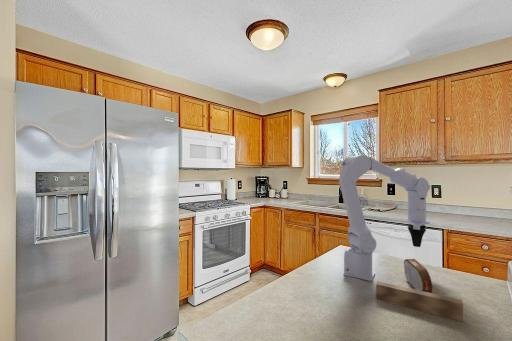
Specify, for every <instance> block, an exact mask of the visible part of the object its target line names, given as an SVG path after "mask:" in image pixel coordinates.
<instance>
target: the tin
mask: <svg viewBox="0 0 512 341" xmlns="http://www.w3.org/2000/svg"><path fill="white" fill-rule="evenodd" d="M403 267H404V269H403V270H404V276H405V279H406V281H407V282H408V284H409V286H411V287H412V289H415V290H419V291H424V292H428V293H433V282H432V278H431V275H430V273H429V271H428V269H427V267H425V266H424V265H423V264H421V262H419V261H418V260H416V259H415V258H406V259H404V261H403Z"/></svg>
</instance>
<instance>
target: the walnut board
mask: <svg viewBox="0 0 512 341" xmlns="http://www.w3.org/2000/svg"><path fill="white" fill-rule="evenodd" d="M375 290H376V291H375V300H378V301H382V302H386V303H390V304H393V305H397V306H399V307H404V308H408V309H411V310H416V311H420V312H424V313H428V314H430V315H431V314H432V315H435V316H438V317H443V318H447V319H450V320H454V321H458V322H462V323H464V302H463V300H462V299H459V298H454V297H451V296H446V295H442V294H441V295H440V294H436V293H433V292H432V293H428V292H424V291H419V290H415V289H414V288H411V287H407V286H401V285H396V284H391V283H387V282H383V281H380V280H377V281H376V284H375Z"/></svg>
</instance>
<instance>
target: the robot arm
mask: <svg viewBox="0 0 512 341" xmlns="http://www.w3.org/2000/svg"><path fill="white" fill-rule="evenodd" d="M340 165H341V170H340V174H339V178H338V183H339V186H340V191H341V195H342V197H343V202H344V207H345V210H346V214H347V217H348V218H347V219H348V222H349V227H348V228H347V231H348V236H347V242H348V244H350V248H345V250H344V255H343V256H344V257H343V276H346V277H347V276H348V277H352V278H357V279H360V280H365V281H370V282H372V281H373V279H374V276H375V275H376V272H375V271H373V253H374V252H375V250H376V248H377V240H376V239H375V237H373V234H372V231H371V229H370V228H369V227H368V226H367V224H366V220H365V216H364V212H363V208H362V204H361V200H360V197H359V192H358V188H357V184H356V183H357V182H358V180H359V179H360V178H361V177H362V176H363V175H364V174H366V173H367V172H369V171H372V172H375V173H377V174H379V175H382V176H385V177H387V178H389V181H390V182H391V183H393V184H395V185H397V186H399V187H402V188H404V189H405V191H407V220H406V222H407V223H408V225H407V229H408V231H409V234H410V237H411V242H412V245H413V247H415V248H421V247H422V246H421V245H422V242H423V241H422V240H423V236H424V234H425V233H426V231H427V229H426V225H430V221H429V220H427V197H428V192H429V191H430V188H431V185H430V184H429V181H428V180H427V179H426V178H425V177H418V176H417V175H416V174H415V173H410V172H408V171H406V169H405V168H403V167H401V168H395V169H393V168H392V167H390V166H388V165H386V164H384V163H383V162H381V161H379V160H377V159H375V158H374V157H372V156H371V157H370V156H368V155H366V154H359V155H351V156H347V157H345V158H344V159H343V161H342V163H340Z"/></svg>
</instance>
